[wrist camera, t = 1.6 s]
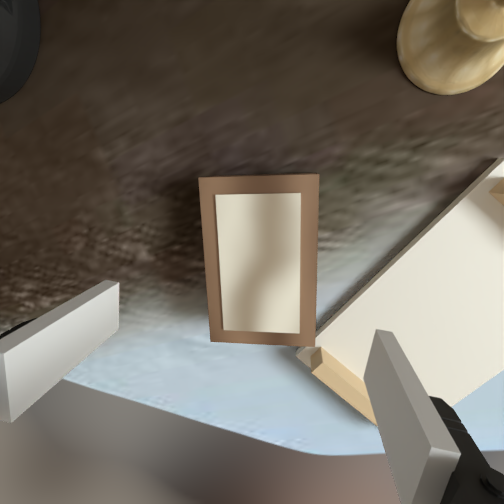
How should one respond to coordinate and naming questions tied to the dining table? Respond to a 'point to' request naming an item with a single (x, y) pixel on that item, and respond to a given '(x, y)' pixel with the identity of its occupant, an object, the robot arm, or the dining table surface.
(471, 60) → the hand bell
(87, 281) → the dining table surface
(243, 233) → the frame
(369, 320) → the wall panel
